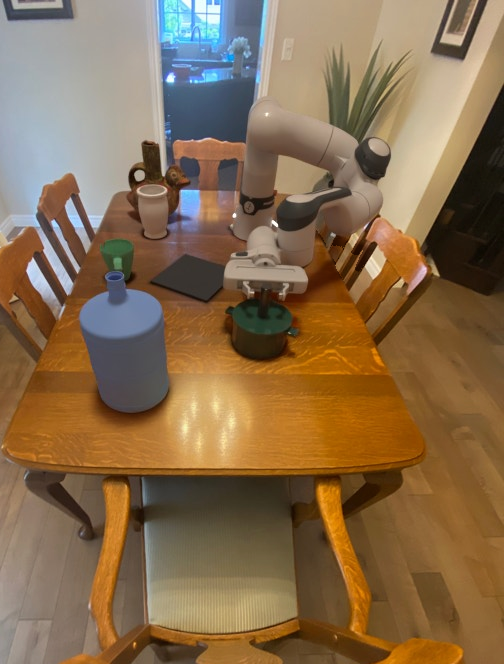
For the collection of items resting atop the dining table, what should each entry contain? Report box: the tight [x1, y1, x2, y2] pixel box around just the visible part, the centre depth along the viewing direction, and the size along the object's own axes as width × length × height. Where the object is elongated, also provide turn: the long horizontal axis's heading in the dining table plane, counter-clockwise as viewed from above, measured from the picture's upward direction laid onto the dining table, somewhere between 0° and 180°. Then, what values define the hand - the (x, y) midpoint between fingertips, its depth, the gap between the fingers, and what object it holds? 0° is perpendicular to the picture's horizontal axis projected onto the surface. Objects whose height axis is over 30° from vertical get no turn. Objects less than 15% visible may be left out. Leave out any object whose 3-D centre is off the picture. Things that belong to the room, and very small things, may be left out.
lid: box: [231, 283, 293, 336], centre depth 86 cm, size 15×15×9 cm
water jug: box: [78, 271, 170, 414], centre depth 72 cm, size 16×16×28 cm
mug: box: [99, 238, 135, 282], centre depth 109 cm, size 15×10×10 cm
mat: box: [150, 253, 226, 303], centre depth 114 cm, size 20×20×1 cm
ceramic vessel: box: [125, 139, 192, 218], centre depth 134 cm, size 17×26×25 cm, turn 77°
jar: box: [137, 185, 169, 240], centre depth 128 cm, size 11×10×15 cm
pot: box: [224, 305, 301, 360], centre depth 92 cm, size 14×19×8 cm
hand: (266, 297), depth 84 cm, fingers open, 6 cm apart
